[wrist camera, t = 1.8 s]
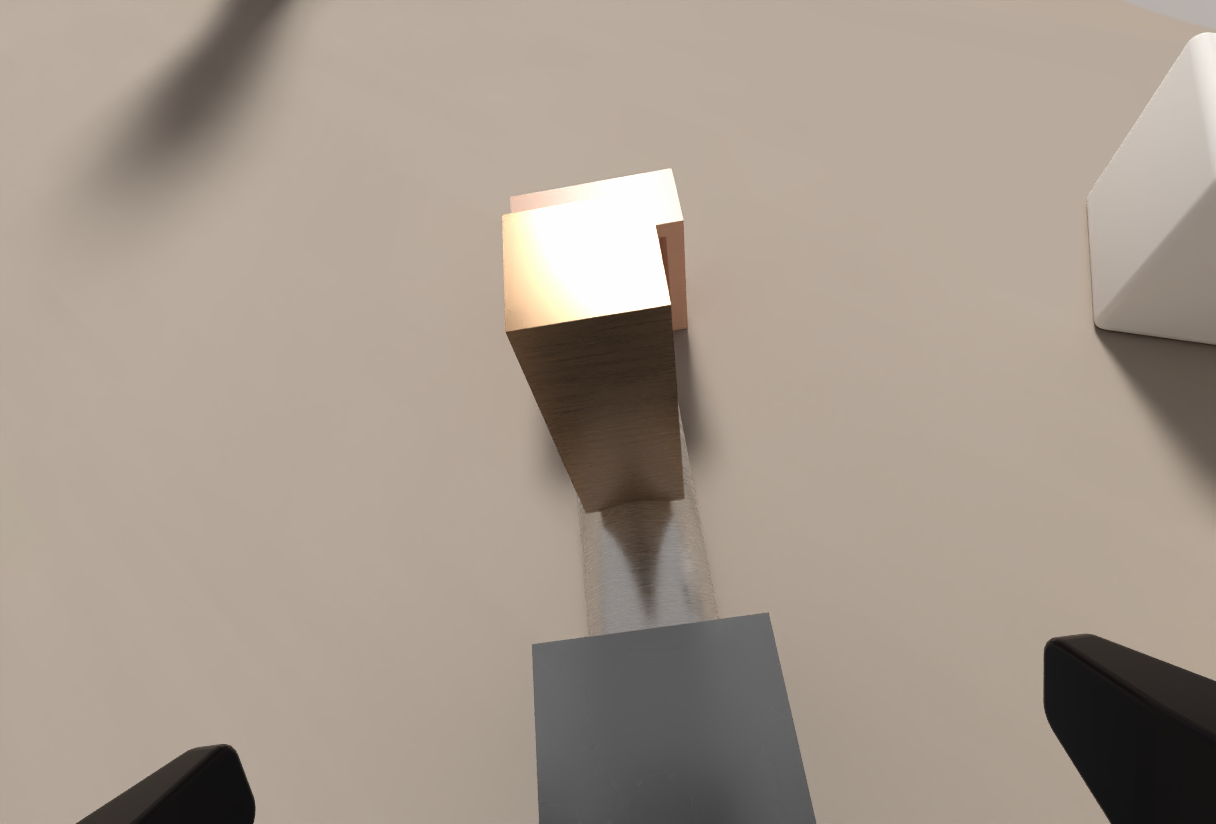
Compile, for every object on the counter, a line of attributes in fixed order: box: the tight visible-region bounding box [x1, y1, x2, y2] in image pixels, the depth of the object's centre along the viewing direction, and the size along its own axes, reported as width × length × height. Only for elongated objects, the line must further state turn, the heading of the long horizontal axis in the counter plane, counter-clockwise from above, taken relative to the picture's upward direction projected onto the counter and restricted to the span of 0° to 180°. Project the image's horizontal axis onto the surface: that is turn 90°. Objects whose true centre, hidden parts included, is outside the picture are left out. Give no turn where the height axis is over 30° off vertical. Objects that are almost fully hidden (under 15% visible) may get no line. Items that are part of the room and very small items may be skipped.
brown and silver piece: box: [502, 190, 718, 637], centre depth 14 cm, size 18×4×12 cm, turn 6°
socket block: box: [510, 168, 687, 331], centre depth 25 cm, size 3×6×6 cm, turn 96°
